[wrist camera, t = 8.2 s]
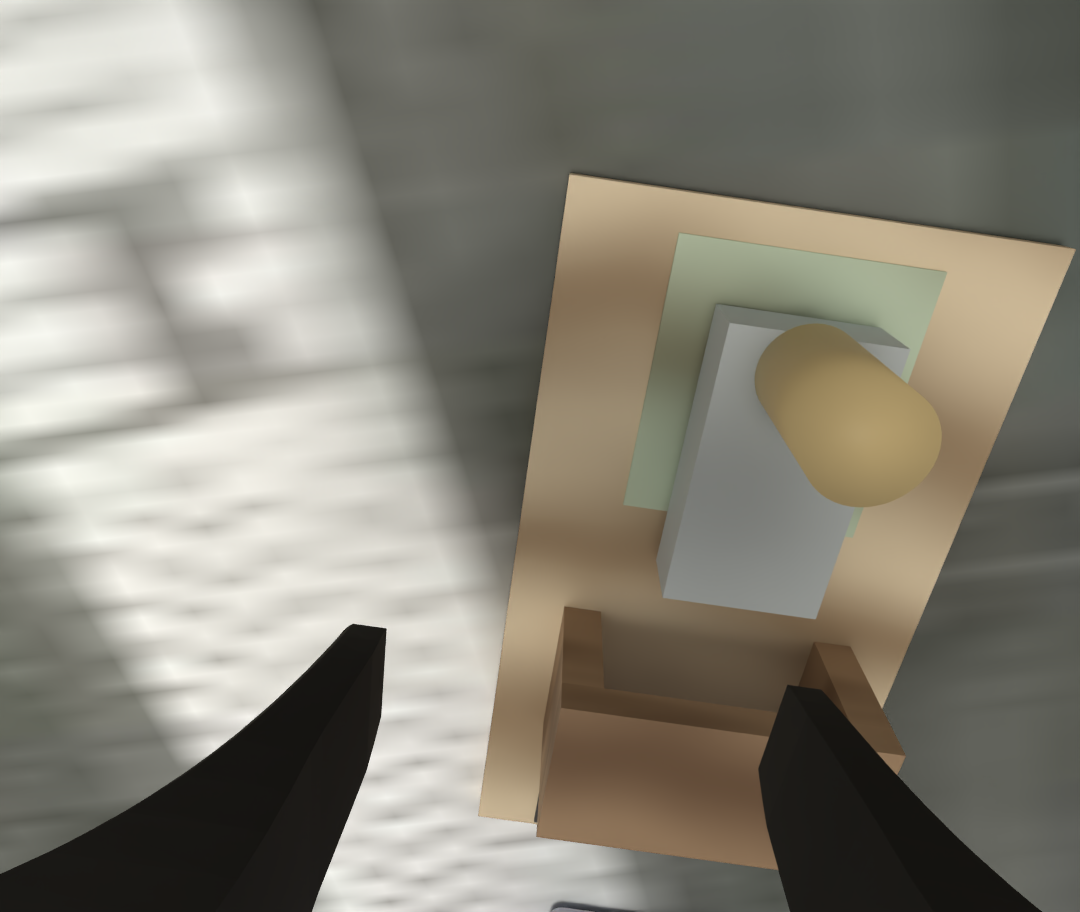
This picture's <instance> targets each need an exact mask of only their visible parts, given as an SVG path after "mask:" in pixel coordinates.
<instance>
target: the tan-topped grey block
mask: <svg viewBox="0 0 1080 912" xmlns="http://www.w3.org/2000/svg"><path fill="white" fill-rule="evenodd" d="M909 352H910V349H909V348H908V347H907V346H905V345H904V344H903V343H901V342H900V341H898V340H897V339H896V338H894V337H893V336H891V335H890V334H889V333H887V332H886V331H884V330H883V329H882V328H879V327H872V326H865V325H858V324H852V323H845V322H838V321H831V320H824V319H817V318H811V317H804V316H797V315H790V314H783V313H776V312H769V311H763V310H756V309H749V308H742V307H735V306H728V305H722V304H716V306H715V310H714V315H713V319H712V323H711V327H710V332H709V336H708V340H707V345H706V349H705V353H704V357H703V362H702V366H701V370H700V374H699V379H698V383H697V387H696V392H695V396H694V400H693V404H692V409H691V413H690V417H689V421H688V426H687V430H686V434H685V438H684V443H683V447H682V451H681V456H680V460H679V464H678V468H677V473H676V477H675V481H674V485H673V490H672V494H671V498H670V503H669V507H668V511H667V515H666V520H665V524H664V528H663V532H662V537H661V541H660V545H659V550H658V554H657V558H656V562H657V568H658V574H659V580H660V586H661V592H662V598H668V599H675V600H682V601H689V602H696V603H703V604H710V605H717V606H724V607H732V608H739V609H746V610H753V611H760V612H767V613H774V614H781V615H788V616H795V617H802V618H809V619H816V617H817V614H818V611H819V609H820V606H821V603H822V600H823V597H824V594H825V591H826V589H827V586H828V583H829V580H830V577H831V574H832V571H833V569H834V566H835V563H836V560H837V557H838V554H839V552H840V549H841V546H842V543H843V540H844V537H845V534H846V532H847V529H848V526H849V523H850V520H851V517H852V515H853V512H854V509H855V507H872V506H878V505H882V504H886V503H889V502H891V501H894V500H896V499H898V498H900V497H902V496H904V495H905V494H907V493H909V492H910V491H911V490H913V489H914V488H915V487H916V486H918V485H919V484H920V483H921V482H922V481H923V480H924V478H925V477H926V476H927V475H928V474H929V472H930V471H931V469H932V467H933V466H934V464H935V462H936V460H937V458H938V455H939V451H940V447H941V441H942V432H941V425H940V421H939V418H938V416H937V414H936V412H935V410H934V408H933V407H932V406H931V404H930V403H929V402H928V401H927V400H926V399H925V398H924V397H923V396H921V395H920V394H919V393H918V392H917V391H915V390H914V389H913V388H912V387H911V386H909V385H908V384H907V383H906V382H905V381H903V380H902V379H901V375H902V372H903V369H904V367H905V364H906V361H907V358H908V355H909Z"/></svg>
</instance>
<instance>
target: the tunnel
mask: <svg viewBox="0 0 1080 912" xmlns="http://www.w3.org/2000/svg"><path fill="white" fill-rule="evenodd" d="M799 686H800V687H807V688H814V689H821V690H822V691H823V692H824V693H825V694H826V695H827V696H828V697H829V698H830V700H831V701H832V702H833V703H834V704H835V705H836V706H837V707H838V709H839V710H840V711H841V712H842V713H843V714H844V716H845V717H846V718H847V719H848V720H849V721H850V722H851V724H852V725H853V726H854V727H855V728H856V729H857V731H858V732H859V733H860V734H861V735H862V736H863V737H864V739H865V740H866V741H867V742H868V743H869V744H870V745H871V747H872V748H873V749H874V750H875V751H876V752H877V753H878V755H879V756H880V757H881V758H882V759H883V760H884V761H885V762H886V764H887V765H888V766H889V767H890V768H891V769H892V770H893V771H894V772H895V774H896V775H897V774H898V772H899V770H900V768H901V766H902V763H903V761H904V759H905V757H906V755H905V753H904V751H903V749H902V747H901V745H900V743H899V741H898V739H897V737H896V735H895V733H894V731H893V730H892V728H891V726H890V724H889V722H888V720H887V718H886V716H885V714H884V712H883V710H882V708H881V706H880V704H879V702H878V700H877V698H876V696H875V694H874V692H873V690H872V688H871V686H870V684H869V682H868V680H867V678H866V676H865V674H864V672H863V670H862V668H861V666H860V664H859V662H858V660H857V658H856V656H855V654H854V652H853V650H852V648H851V647H850V646H843V645H835V644H828V643H821V642H814V643H813V646H812V649H811V652H810V655H809V657H808V660H807V663H806V666H805V669H804V672H803V674H802V677H801V680H800V683H799ZM776 716H777V712H770V711H763V710H756V709H748V708H741V707H734V706H727V705H720V704H713V703H705V702H698V701H691V700H684V699H677V698H670V697H663V696H655V695H648V694H641V693H634V692H627V691H620V690H612V689H605V688H604V672H603V648H602V624H601V611H594V610H587V609H580V608H573V607H566V606H564V611H563V616H562V622H561V627H560V633H559V638H558V644H557V650H556V655H555V661H554V666H553V672H552V677H551V683H550V688H549V694H548V700H547V705H546V711H545V716H544V722H543V736H542V753H541V769H540V786H539V802H538V819H537V836H536V837H541V838H549V839H556V840H563V841H570V842H578V843H585V844H592V845H600V846H607V847H614V848H621V849H629V850H636V851H643V852H651V853H658V854H665V855H672V856H680V857H687V858H694V859H702V860H709V861H716V862H724V863H731V864H738V865H745V866H753V867H760V868H767V869H775V870H778V867H777V863H776V859H775V856H774V852H773V848H772V845H771V841H770V837H769V833H768V830H767V826H766V820H765V814H764V808H763V801H762V794H761V787H760V779H759V772H758V768H759V765H760V762H761V759H762V756H763V753H764V750H765V748H766V745H767V742H768V739H769V736H770V733H771V730H772V727H773V725H774V722H775V719H776Z"/></svg>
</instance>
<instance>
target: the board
mask: <svg viewBox="0 0 1080 912" xmlns="http://www.w3.org/2000/svg"><path fill="white" fill-rule="evenodd" d="M1075 250H1076V249H1073V248H1069V247H1066V246H1062V245H1055V244H1048V243H1042V242H1035V241H1028V240H1021V239H1015V238H1008V237H1001V236H994V235H988V234H981V233H974V232H967V231H961V230H954V229H947V228H940V227H933V226H927V225H920V224H913V223H906V222H900V221H893V220H886V219H879V218H873V217H866V216H859V215H852V214H845V213H839V212H832V211H825V210H818V209H812V208H805V207H798V206H791V205H785V204H778V203H771V202H764V201H757V200H751V199H744V198H737V197H730V196H724V195H717V194H710V193H703V192H697V191H690V190H683V189H676V188H670V187H663V186H656V185H649V184H642V183H636V182H629V181H622V180H615V179H609V178H602V177H595V176H588V175H582V174H575V173H570V175H569V182H568V189H567V196H566V203H565V210H564V217H563V224H562V231H561V238H560V245H559V252H558V259H557V266H556V273H555V280H554V287H553V294H552V301H551V308H550V315H549V322H548V329H547V336H546V343H545V350H544V357H543V364H542V371H541V378H540V385H539V392H538V399H537V406H536V414H535V421H534V428H533V435H532V442H531V449H530V456H529V463H528V470H527V477H526V484H525V491H524V498H523V505H522V512H521V519H520V526H519V533H518V540H517V547H516V554H515V561H514V568H513V575H512V582H511V589H510V596H509V603H508V610H507V617H506V624H505V631H504V638H503V645H502V652H501V659H500V666H499V673H498V680H497V688H496V695H495V702H494V709H493V716H492V723H491V730H490V737H489V744H488V751H487V758H486V765H485V772H484V779H483V786H482V793H481V800H480V807H479V814H478V816H482V817H489V818H496V819H503V820H511V821H518V822H525V823H532V824H537V819H538V802H539V786H540V769H541V753H542V736H543V722H544V716H545V711H546V705H547V700H548V694H549V688H550V683H551V677H552V672H553V666H554V661H555V655H556V650H557V644H558V638H559V633H560V627H561V622H562V616H563V611H564V606H566V607H573V608H580V609H587V610H594V611H601V624H602V648H603V672H604V688H605V689H612V690H620V691H627V692H634V693H641V694H648V695H655V696H663V697H670V698H677V699H684V700H691V701H698V702H705V703H713V704H720V705H727V706H734V707H741V708H748V709H756V710H763V711H770V712H777V713H778V710H779V707H780V704H781V701H782V699H783V696H784V693H785V690H786V687H787V685H793V686H799V683H800V680H801V677H802V674H803V672H804V669H805V666H806V663H807V660H808V657H809V655H810V652H811V649H812V646H813V643H814V642H821V643H828V644H835V645H843V646H850V647H851V648H852V650H853V652H854V654H855V656H856V658H857V660H858V662H859V664H860V666H861V668H862V670H863V672H864V674H865V676H866V678H867V680H868V682H869V684H870V686H871V688H872V690H873V692H874V694H875V696H876V698H877V700H878V702H879V704H880V706H881V708H883V706H884V703H885V701H886V698H887V696H888V694H889V691H890V689H891V687H892V684H893V682H894V679H895V677H896V675H897V672H898V670H899V668H900V665H901V663H902V661H903V658H904V656H905V653H906V651H907V649H908V646H909V644H910V642H911V639H912V637H913V634H914V632H915V630H916V627H917V625H918V623H919V620H920V618H921V615H922V613H923V611H924V608H925V606H926V604H927V601H928V599H929V596H930V594H931V592H932V589H933V587H934V585H935V582H936V580H937V578H938V575H939V573H940V570H941V568H942V566H943V563H944V561H945V559H946V556H947V554H948V551H949V549H950V547H951V544H952V542H953V540H954V537H955V535H956V532H957V530H958V528H959V525H960V523H961V521H962V518H963V516H964V513H965V511H966V509H967V506H968V504H969V502H970V499H971V497H972V494H973V492H974V490H975V487H976V485H977V483H978V480H979V478H980V476H981V473H982V471H983V468H984V466H985V464H986V461H987V459H988V457H989V454H990V452H991V449H992V447H993V445H994V442H995V440H996V438H997V435H998V433H999V430H1000V428H1001V426H1002V423H1003V421H1004V419H1005V416H1006V414H1007V411H1008V409H1009V407H1010V404H1011V402H1012V400H1013V397H1014V395H1015V393H1016V390H1017V388H1018V385H1019V383H1020V381H1021V378H1022V376H1023V374H1024V371H1025V369H1026V366H1027V364H1028V362H1029V359H1030V357H1031V355H1032V352H1033V350H1034V347H1035V345H1036V343H1037V340H1038V338H1039V336H1040V333H1041V331H1042V328H1043V326H1044V324H1045V321H1046V319H1047V317H1048V314H1049V312H1050V309H1051V307H1052V305H1053V302H1054V300H1055V298H1056V295H1057V293H1058V291H1059V288H1060V286H1061V283H1062V281H1063V279H1064V276H1065V274H1066V272H1067V269H1068V267H1069V264H1070V262H1071V260H1072V257H1073V255H1074V253H1075ZM716 304H722V305H728V306H735V307H742V308H749V309H756V310H763V311H769V312H776V313H783V314H790V315H797V316H804V317H811V318H817V319H824V320H831V321H838V322H845V323H852V324H858V325H865V326H872V327H879V328H882V329H883V330H884V331H886V332H887V333H889V334H890V335H891V336H893V337H894V338H896V339H897V340H898V341H900V342H901V343H903V344H904V345H905V346H907V347H908V348H909V349H910V352H909V355H908V358H907V361H906V364H905V367H904V369H903V372H902V375H901V379H902V380H903V381H905V382H906V383H907V384H908V385H909V386H911V387H912V388H913V389H914V390H915V391H917V392H918V393H919V394H920V395H921V396H923V397H924V398H925V399H926V400H927V401H928V402H929V403H930V404H931V406H932V407H933V408H934V410H935V412H936V414H937V416H938V418H939V421H940V425H941V432H942V441H941V447H940V451H939V455H938V458H937V460H936V462H935V464H934V466H933V467H932V469H931V471H930V472H929V474H928V475H927V476H926V477H925V478H924V480H923V481H922V482H921V483H920V484H919V485H918V486H916V487H915V488H914V489H913V490H911V491H910V492H909V493H907V494H905V495H904V496H902V497H900V498H898V499H896V500H894V501H891V502H889V503H886V504H882V505H878V506H872V507H855V509H854V512H853V515H852V517H851V520H850V523H849V526H848V529H847V532H846V534H845V537H844V540H843V543H842V546H841V549H840V552H839V554H838V557H837V560H836V563H835V566H834V569H833V571H832V574H831V577H830V580H829V583H828V586H827V589H826V591H825V594H824V597H823V600H822V603H821V606H820V609H819V611H818V614H817V617H816V619H809V618H802V617H795V616H788V615H781V614H774V613H767V612H760V611H753V610H746V609H739V608H732V607H724V606H717V605H710V604H703V603H696V602H689V601H682V600H675V599H668V598H662V592H661V586H660V580H659V574H658V568H657V562H656V558H657V554H658V550H659V545H660V541H661V537H662V532H663V528H664V524H665V520H666V515H667V511H668V507H669V503H670V498H671V494H672V490H673V485H674V481H675V477H676V473H677V468H678V464H679V460H680V456H681V451H682V447H683V443H684V438H685V434H686V430H687V426H688V421H689V417H690V413H691V409H692V404H693V400H694V396H695V392H696V387H697V383H698V379H699V374H700V370H701V366H702V362H703V357H704V353H705V349H706V345H707V340H708V336H709V332H710V327H711V323H712V319H713V315H714V310H715V306H716Z"/></svg>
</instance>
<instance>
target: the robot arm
mask: <svg viewBox="0 0 1080 912" xmlns="http://www.w3.org/2000/svg"><path fill="white" fill-rule="evenodd" d="M385 645H386V628H379V627H372V626H365V625H357V624H352V625H350V626H349V627H347V628H346V629H345V630H344V631H343V632H342V633H341V634H340V636H339V637H338V638H337V639H336V640H335V641H334V642H333V643H332V644H331V646H330V647H329V648H328V649H327V650H326V651H325V652H324V653H323V654H322V655H321V656H320V657H319V658H318V659H317V660H316V661H315V662H314V663H313V665H312V666H311V667H310V668H309V669H308V670H307V671H306V672H305V673H304V674H303V675H302V676H301V677H299V678H298V679H297V680H296V681H295V682H294V683H293V684H292V685H291V686H290V687H289V688H288V689H287V690H286V691H285V692H284V693H283V694H282V695H281V696H280V697H279V698H278V699H276V700H275V701H274V702H273V703H272V704H271V705H270V706H269V707H268V708H266V709H265V710H264V711H263V712H262V713H261V714H259V715H258V716H257V717H256V718H255V719H254V720H252V721H251V722H250V723H249V724H248V725H247V726H245V727H244V728H243V729H242V730H241V731H240V732H238V733H237V734H236V735H235V736H233V737H232V738H231V739H230V740H228V741H227V742H226V743H225V744H223V745H222V746H221V747H219V748H218V749H217V750H216V751H214V752H213V753H212V754H210V755H209V756H208V757H206V758H205V759H203V760H202V761H201V762H199V763H198V764H197V765H195V766H194V767H192V768H191V769H190V770H188V771H187V772H185V773H184V774H182V775H181V776H179V777H178V778H176V779H175V780H173V781H172V782H170V783H169V784H167V785H166V786H164V787H163V788H161V789H160V790H158V791H157V792H155V793H154V794H152V795H151V796H149V797H147V798H146V799H144V800H143V801H141V802H139V803H138V804H136V805H134V806H133V807H131V808H130V809H128V810H126V811H124V812H123V813H121V814H119V815H117V816H115V817H114V818H112V819H110V820H108V821H106V822H105V823H103V824H101V825H99V826H98V827H96V828H94V829H92V830H90V831H89V832H87V833H85V834H83V835H81V836H79V837H77V838H75V839H74V840H72V841H70V842H68V843H66V844H64V845H62V846H60V847H58V848H56V849H54V850H52V851H50V852H48V853H45V854H43V855H41V856H39V857H37V858H35V859H32V860H30V861H28V862H26V863H24V864H21V865H19V866H17V867H15V868H13V869H11V870H8V871H6V872H4V873H2V874H0V912H312V909H313V907H314V904H315V901H316V898H317V895H318V892H319V890H320V887H321V885H322V882H323V880H324V877H325V875H326V872H327V870H328V867H329V864H330V862H331V859H332V857H333V854H334V852H335V849H336V847H337V844H338V842H339V839H340V837H341V834H342V832H343V829H344V827H345V824H346V822H347V819H348V817H349V814H350V812H351V809H352V806H353V804H354V801H355V799H356V796H357V794H358V791H359V789H360V786H361V783H362V781H363V778H364V776H365V773H366V770H367V767H368V763H369V760H370V756H371V752H372V749H373V745H374V741H375V738H376V734H377V730H378V726H379V722H380V719H381V709H382V693H383V677H384V661H385ZM758 772H759V779H760V787H761V794H762V801H763V808H764V814H765V820H766V826H767V830H768V833H769V837H770V841H771V845H772V848H773V852H774V856H775V859H776V863H777V867H778V870H779V874H780V877H781V881H782V884H783V888H784V891H785V895H786V899H787V902H788V906H789V909H790V912H1042V911H1041V910H1039V909H1038V908H1037V907H1035V906H1034V905H1033V904H1032V903H1031V902H1029V901H1028V900H1027V899H1026V898H1025V897H1023V896H1022V895H1021V894H1020V893H1019V892H1017V891H1016V890H1015V889H1014V888H1013V887H1011V886H1010V885H1009V884H1008V883H1007V882H1006V881H1005V880H1004V879H1002V878H1001V877H1000V876H999V875H998V874H997V873H996V872H995V871H993V870H992V869H991V868H990V867H989V866H988V865H987V864H986V863H984V862H983V861H982V860H981V859H980V858H979V857H978V856H977V855H975V854H974V853H973V852H972V851H971V850H970V849H969V848H968V847H967V846H966V845H965V844H964V843H963V842H962V841H961V840H959V839H958V838H957V837H956V836H955V835H954V834H953V833H952V832H951V831H950V830H949V829H948V828H947V827H946V826H945V825H944V824H943V823H942V822H941V821H940V820H939V819H938V818H937V817H936V816H935V815H934V814H933V813H932V812H931V811H930V810H929V809H928V808H927V807H926V806H925V805H924V803H923V802H922V801H921V800H920V799H919V798H918V797H917V796H916V795H915V794H914V793H913V792H912V791H911V790H910V789H909V788H908V787H907V785H906V784H905V783H904V782H903V781H902V780H901V779H900V778H899V777H898V776H897V775H896V774H895V772H894V771H893V770H892V769H891V768H890V767H889V766H888V765H887V764H886V762H885V761H884V760H883V759H882V758H881V757H880V756H879V755H878V753H877V752H876V751H875V750H874V749H873V748H872V747H871V745H870V744H869V743H868V742H867V741H866V740H865V739H864V737H863V736H862V735H861V734H860V733H859V732H858V731H857V729H856V728H855V727H854V726H853V725H852V724H851V722H850V721H849V720H848V719H847V718H846V717H845V716H844V714H843V713H842V712H841V711H840V710H839V709H838V707H837V706H836V705H835V704H834V703H833V702H832V701H831V700H830V698H829V697H828V696H827V695H826V694H825V693H824V692H823V691H822V690H821V689H814V688H807V687H800V686H793V685H787V687H786V690H785V693H784V696H783V699H782V701H781V704H780V707H779V710H778V713H777V716H776V719H775V722H774V725H773V727H772V730H771V733H770V736H769V739H768V742H767V745H766V748H765V750H764V753H763V756H762V759H761V762H760V765H759V768H758ZM551 912H593V911H586V910H578V909H571V908H564V907H559V908H555V909H554V910H553V911H551Z"/></svg>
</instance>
